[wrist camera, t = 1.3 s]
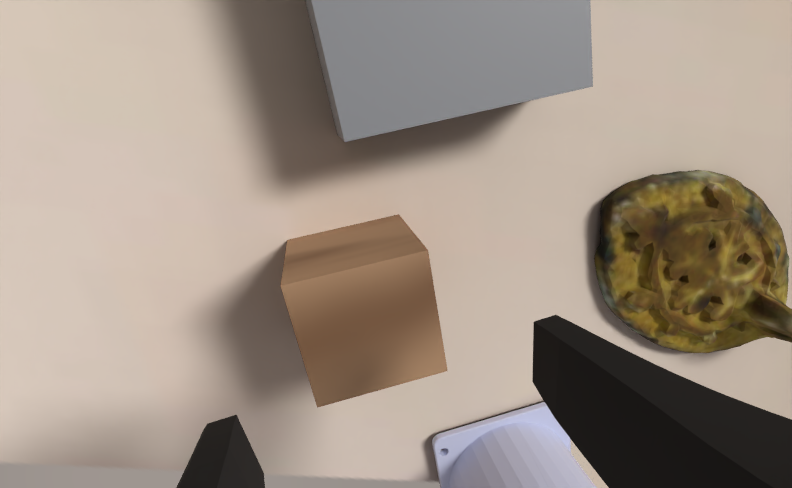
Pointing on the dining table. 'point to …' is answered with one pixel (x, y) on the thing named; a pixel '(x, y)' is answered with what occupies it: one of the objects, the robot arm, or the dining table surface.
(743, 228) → the seal
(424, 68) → the grey block
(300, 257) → the walnut cube
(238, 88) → the dining table surface
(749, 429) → the robot arm
